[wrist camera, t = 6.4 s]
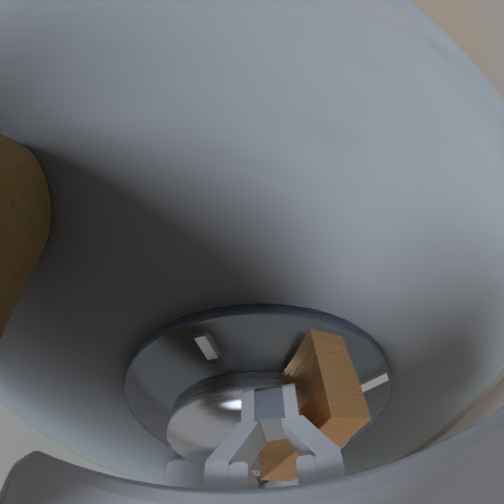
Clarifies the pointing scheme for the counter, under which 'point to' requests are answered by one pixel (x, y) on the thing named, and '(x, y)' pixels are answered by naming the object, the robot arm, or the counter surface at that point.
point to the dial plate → (240, 356)
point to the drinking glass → (280, 483)
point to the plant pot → (20, 221)
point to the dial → (298, 372)
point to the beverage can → (183, 474)
